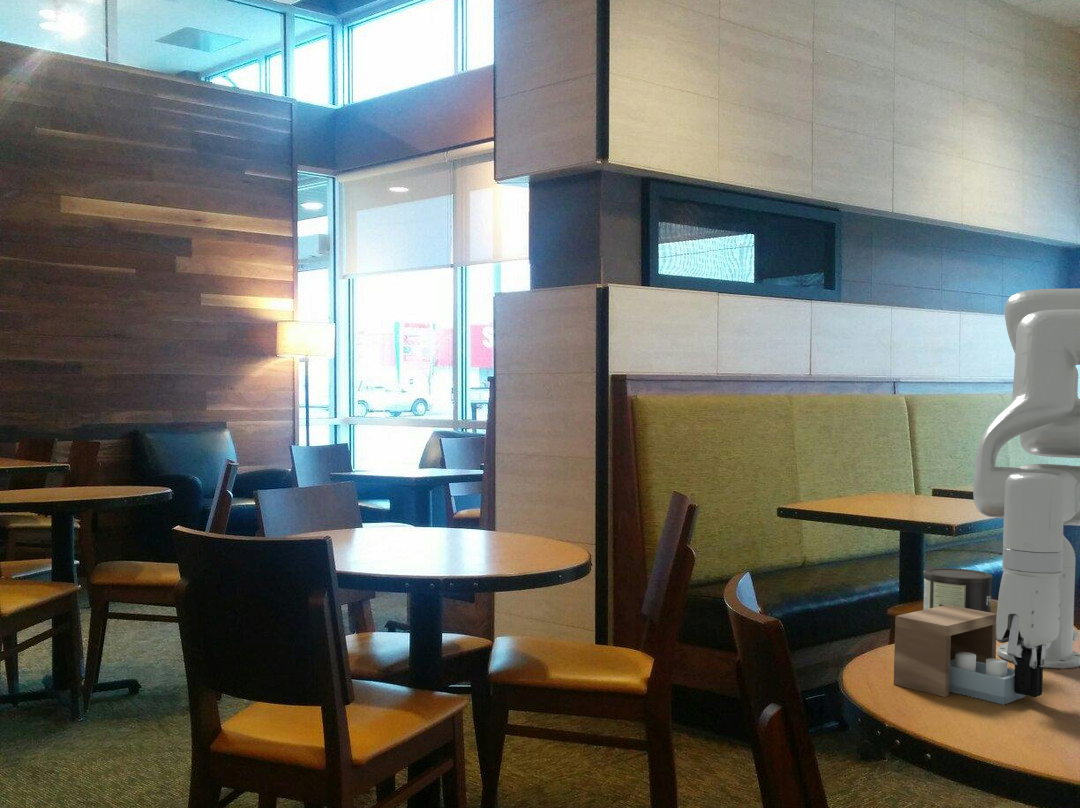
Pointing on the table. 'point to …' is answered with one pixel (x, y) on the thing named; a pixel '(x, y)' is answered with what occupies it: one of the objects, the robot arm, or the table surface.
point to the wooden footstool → (939, 644)
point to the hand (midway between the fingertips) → (1028, 693)
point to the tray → (982, 678)
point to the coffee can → (957, 588)
